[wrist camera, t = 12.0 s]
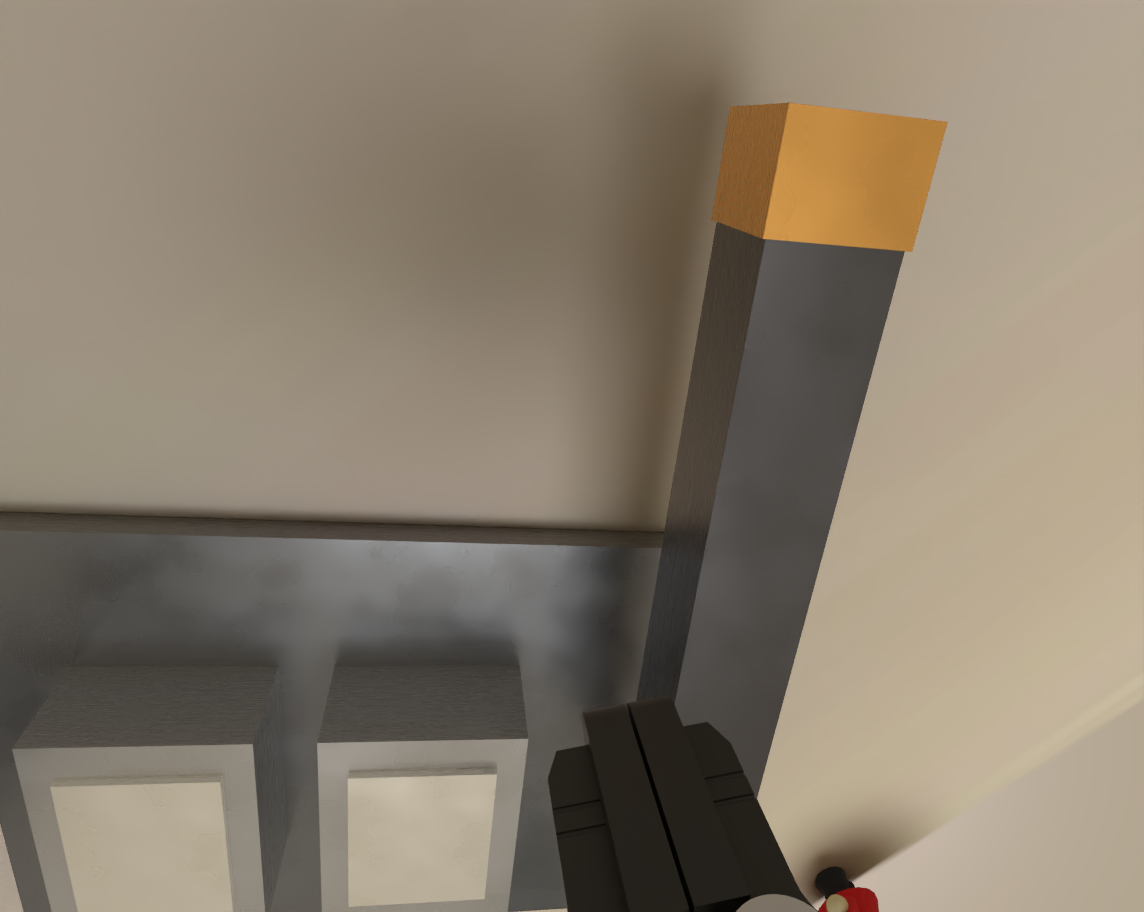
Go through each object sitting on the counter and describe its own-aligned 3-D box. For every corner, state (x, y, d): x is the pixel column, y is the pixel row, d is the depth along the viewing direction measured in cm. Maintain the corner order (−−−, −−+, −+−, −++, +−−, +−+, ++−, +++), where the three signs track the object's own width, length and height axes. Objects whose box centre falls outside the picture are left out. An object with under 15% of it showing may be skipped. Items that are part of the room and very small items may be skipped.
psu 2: (104, 845, 30) (54, 948, 26) (70, 666, 26) (6, 756, 22) (287, 838, 31) (264, 935, 27) (278, 666, 27) (250, 751, 24)
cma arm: (704, 103, 16) (766, 98, 13) (887, 125, 17) (989, 125, 14) (579, 917, 27) (596, 1027, 24) (695, 908, 28) (727, 1014, 24)
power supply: (337, 836, 31) (320, 932, 28) (334, 666, 28) (315, 749, 24) (502, 829, 32) (508, 920, 29) (520, 665, 29) (529, 745, 25)
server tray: (45, 913, 32) (-48, 1092, 26) (-55, 510, 24) (-220, 634, 18) (602, 882, 37) (630, 1029, 31) (669, 532, 29) (725, 639, 23)
